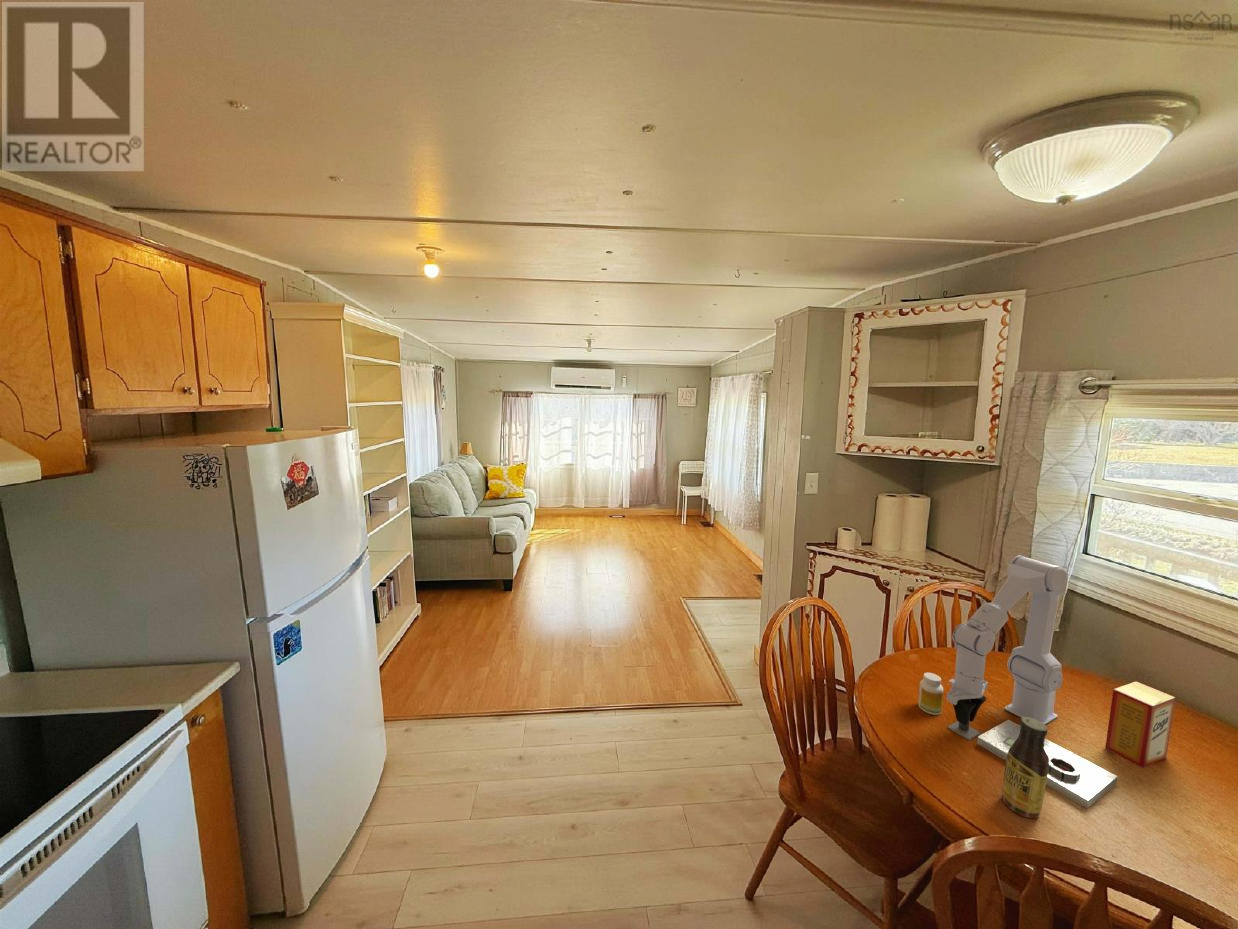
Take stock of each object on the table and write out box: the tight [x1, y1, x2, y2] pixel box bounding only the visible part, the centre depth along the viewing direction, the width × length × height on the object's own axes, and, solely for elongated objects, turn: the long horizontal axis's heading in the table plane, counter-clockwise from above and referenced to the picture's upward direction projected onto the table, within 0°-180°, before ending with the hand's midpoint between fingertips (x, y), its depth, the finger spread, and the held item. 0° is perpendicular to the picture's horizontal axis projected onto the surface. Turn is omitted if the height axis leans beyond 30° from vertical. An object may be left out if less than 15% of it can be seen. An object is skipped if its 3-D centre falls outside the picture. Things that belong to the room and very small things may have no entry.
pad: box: [1005, 739, 1015, 746], centre depth 108 cm, size 2×2×2 cm
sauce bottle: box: [1001, 717, 1049, 819], centre depth 92 cm, size 7×6×20 cm
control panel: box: [976, 719, 1118, 809], centre depth 104 cm, size 14×20×3 cm
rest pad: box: [947, 720, 982, 741], centre depth 115 cm, size 5×5×1 cm
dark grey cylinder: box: [959, 699, 971, 731], centre depth 114 cm, size 2×2×8 cm
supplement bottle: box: [917, 672, 944, 716], centre depth 123 cm, size 5×5×10 cm
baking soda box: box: [1105, 681, 1177, 769], centre depth 106 cm, size 10×6×16 cm
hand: (964, 720), depth 115 cm, fingers closed on dark grey cylinder, 2 cm apart
